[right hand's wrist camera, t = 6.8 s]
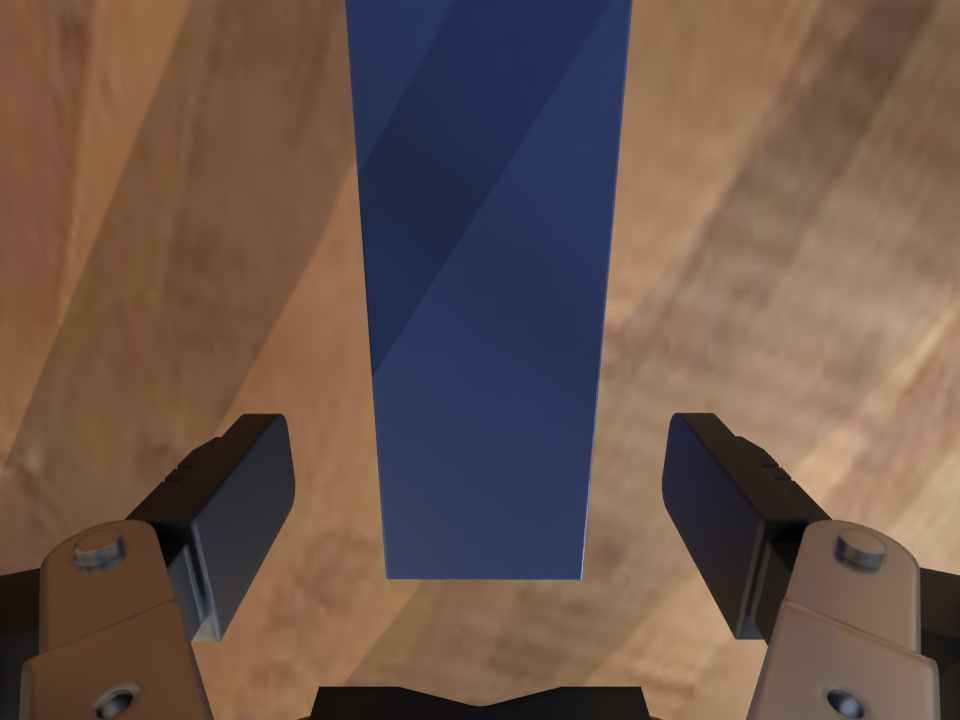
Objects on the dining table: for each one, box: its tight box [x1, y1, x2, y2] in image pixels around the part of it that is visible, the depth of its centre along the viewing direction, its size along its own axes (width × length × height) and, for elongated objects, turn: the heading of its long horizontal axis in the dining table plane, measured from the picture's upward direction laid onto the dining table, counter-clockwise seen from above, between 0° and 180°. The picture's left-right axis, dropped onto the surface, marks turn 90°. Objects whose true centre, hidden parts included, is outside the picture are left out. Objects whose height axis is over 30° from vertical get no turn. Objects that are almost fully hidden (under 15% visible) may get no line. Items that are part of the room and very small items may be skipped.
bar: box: [345, 0, 632, 580], centre depth 12 cm, size 25×5×8 cm, turn 0°
